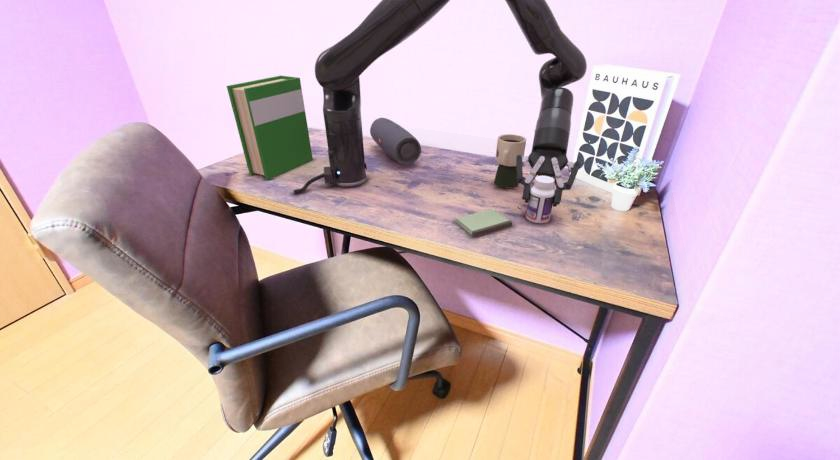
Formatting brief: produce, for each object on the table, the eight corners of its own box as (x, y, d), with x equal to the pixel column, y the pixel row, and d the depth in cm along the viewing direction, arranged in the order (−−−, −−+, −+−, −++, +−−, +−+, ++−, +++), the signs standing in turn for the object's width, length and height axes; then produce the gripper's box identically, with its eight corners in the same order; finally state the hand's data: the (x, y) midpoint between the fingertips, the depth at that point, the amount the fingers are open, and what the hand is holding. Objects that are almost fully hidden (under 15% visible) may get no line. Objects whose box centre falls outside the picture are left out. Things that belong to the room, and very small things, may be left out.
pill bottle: (548, 213, 87) (556, 174, 81) (550, 225, 82) (559, 185, 77) (524, 211, 87) (531, 173, 82) (525, 222, 83) (532, 183, 78)
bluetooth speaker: (369, 147, 125) (367, 117, 120) (394, 143, 128) (393, 114, 123) (393, 171, 108) (392, 137, 102) (422, 166, 111) (422, 133, 106)
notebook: (473, 237, 78) (474, 232, 77) (456, 222, 83) (456, 217, 82) (511, 226, 82) (512, 221, 81) (492, 212, 87) (493, 208, 86)
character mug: (499, 175, 105) (504, 130, 98) (523, 180, 102) (531, 134, 95) (486, 190, 97) (491, 142, 90) (513, 196, 94) (520, 147, 87)
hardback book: (267, 180, 102) (246, 88, 90) (249, 174, 105) (226, 85, 93) (312, 159, 115) (299, 77, 103) (295, 155, 118) (280, 75, 106)
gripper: (520, 122, 82) (507, 193, 79) (589, 128, 79) (578, 203, 75) (519, 138, 89) (507, 204, 86) (582, 144, 86) (572, 213, 82)
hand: (540, 203), depth 81 cm, fingers closed on pill bottle, 5 cm apart
